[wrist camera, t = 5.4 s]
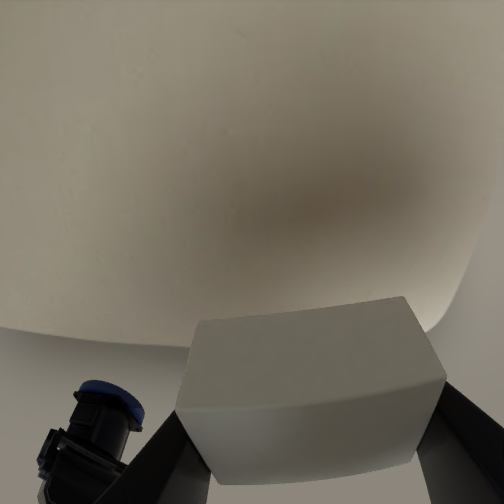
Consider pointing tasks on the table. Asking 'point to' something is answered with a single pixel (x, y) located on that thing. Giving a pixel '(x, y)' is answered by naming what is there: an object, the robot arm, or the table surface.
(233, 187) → the table surface
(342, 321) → the gray rectangular box
